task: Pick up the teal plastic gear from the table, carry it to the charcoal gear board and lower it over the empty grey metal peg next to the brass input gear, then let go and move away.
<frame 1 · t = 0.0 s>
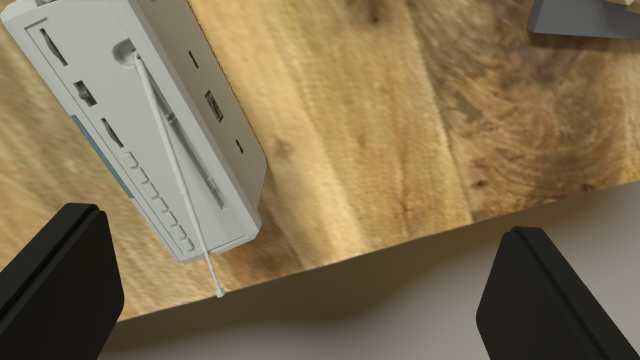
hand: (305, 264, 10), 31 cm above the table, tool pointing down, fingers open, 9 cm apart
stereo radio cassette player: (195, 85, 40), on the table
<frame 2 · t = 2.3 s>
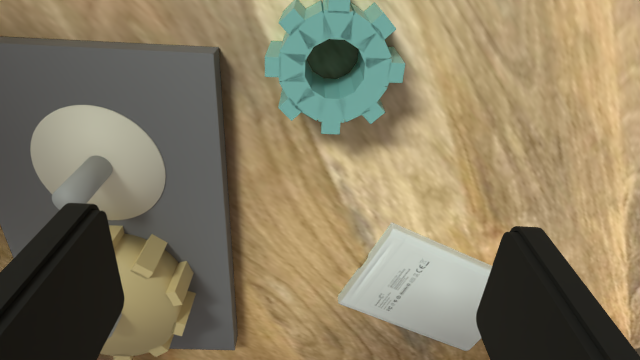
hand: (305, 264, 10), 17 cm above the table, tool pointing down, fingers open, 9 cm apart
gear board: (122, 215, 30), on the table
teal gear: (332, 52, 25), on the table
external hard drive: (428, 281, 35), on the table
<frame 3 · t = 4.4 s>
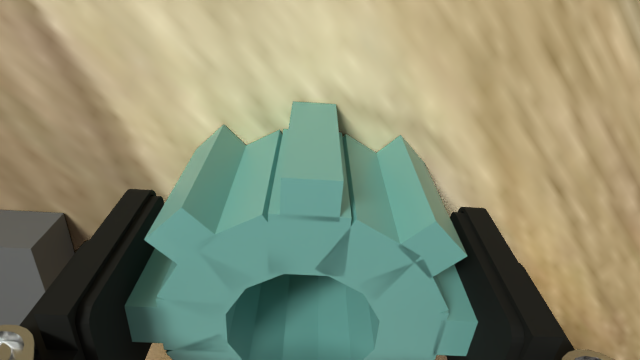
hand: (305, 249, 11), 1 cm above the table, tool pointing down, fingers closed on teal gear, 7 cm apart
teal gear: (306, 225, 12), on the table, touching gripper
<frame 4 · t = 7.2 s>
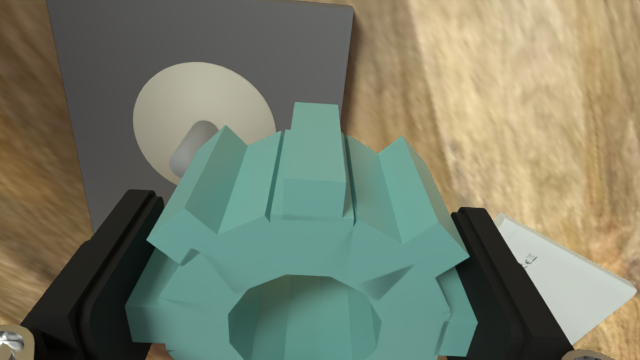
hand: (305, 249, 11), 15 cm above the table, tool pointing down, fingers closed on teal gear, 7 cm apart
gear board: (213, 191, 28), on the table
teal gear: (308, 226, 12), point 14 cm above the table, touching gripper
external hard drive: (523, 279, 32), on the table
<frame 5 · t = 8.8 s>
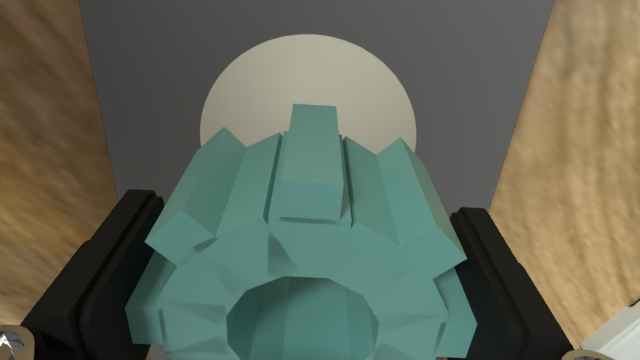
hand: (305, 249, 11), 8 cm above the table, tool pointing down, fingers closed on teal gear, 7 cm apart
gear board: (303, 224, 20), on the table
teal gear: (306, 227, 12), point 7 cm above the table, touching gripper
when the fingers open (4 cm above the table, at t = 10.0 s): teal gear drops 1 cm, resting on gear board.
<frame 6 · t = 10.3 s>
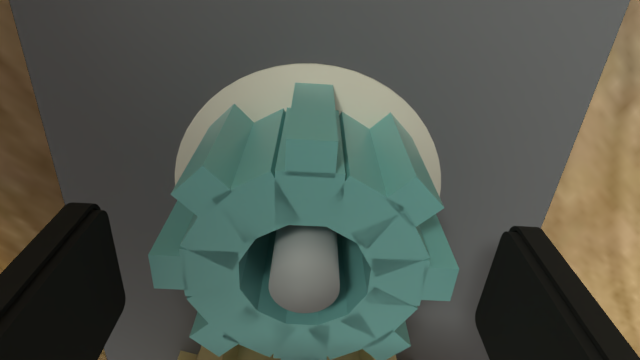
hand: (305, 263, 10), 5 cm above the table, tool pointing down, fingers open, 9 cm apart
gear board: (302, 277, 17), on the table
teal gear: (308, 196, 13), point 2 cm above the table, touching gear board
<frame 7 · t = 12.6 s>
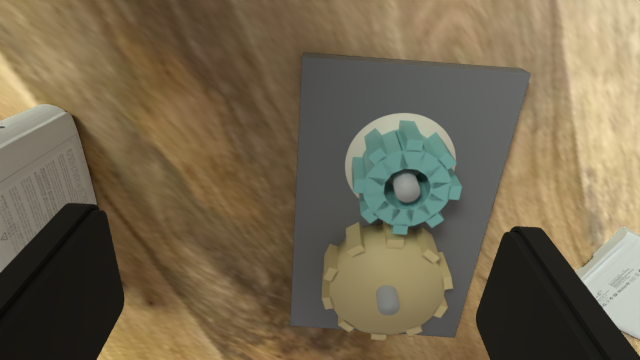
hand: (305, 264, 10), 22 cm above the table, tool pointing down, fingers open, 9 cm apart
gear board: (388, 210, 35), on the table
teal gear: (399, 166, 31), point 2 cm above the table, touching gear board
external hard drive: (635, 282, 38), on the table
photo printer: (66, 163, 34), on the table
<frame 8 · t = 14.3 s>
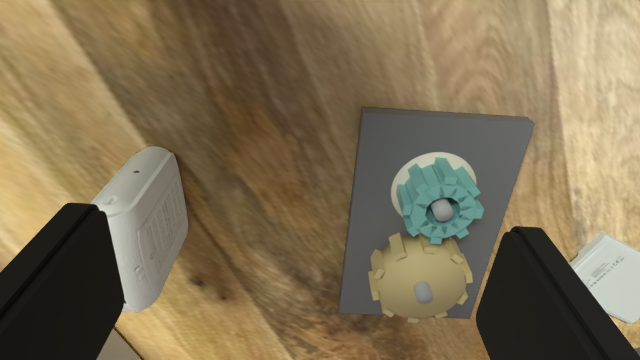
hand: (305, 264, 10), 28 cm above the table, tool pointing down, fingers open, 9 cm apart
gear board: (420, 222, 44), on the table
teal gear: (433, 190, 40), point 2 cm above the table, touching gear board
external hard drive: (610, 272, 49), on the table
stereo radio cassette player: (94, 331, 53), on the table
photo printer: (165, 190, 43), on the table
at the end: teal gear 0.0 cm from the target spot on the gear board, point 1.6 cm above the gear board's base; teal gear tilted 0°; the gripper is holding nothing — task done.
